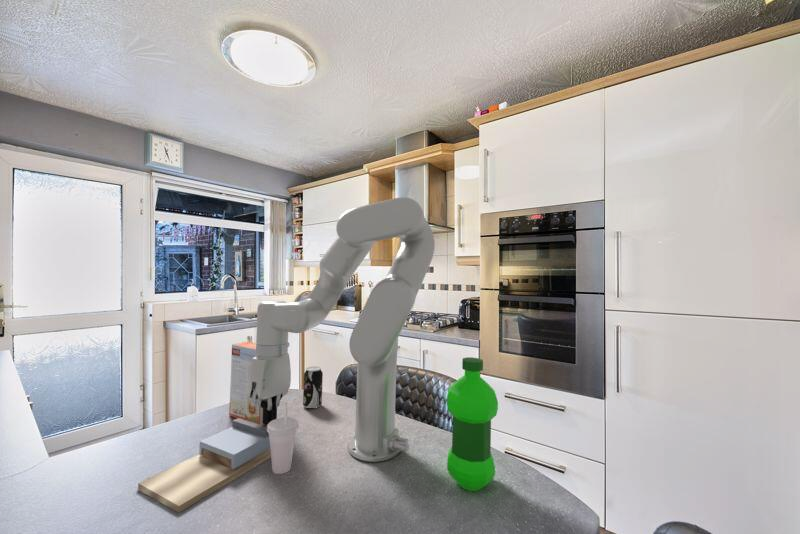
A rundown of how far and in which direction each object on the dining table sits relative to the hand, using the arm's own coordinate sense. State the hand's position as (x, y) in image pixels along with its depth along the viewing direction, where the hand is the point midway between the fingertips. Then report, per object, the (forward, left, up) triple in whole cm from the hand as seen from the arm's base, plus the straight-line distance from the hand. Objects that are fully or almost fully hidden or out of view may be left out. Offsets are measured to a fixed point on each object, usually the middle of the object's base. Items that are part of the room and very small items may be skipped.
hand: (269, 423), depth 83 cm
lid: (0, +9, -3) cm, 10 cm away
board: (0, +14, -4) cm, 14 cm away
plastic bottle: (-49, -8, -4) cm, 50 cm away
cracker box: (+14, -7, -4) cm, 16 cm away
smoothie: (-12, +7, -4) cm, 15 cm away
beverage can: (+5, -22, -4) cm, 23 cm away
